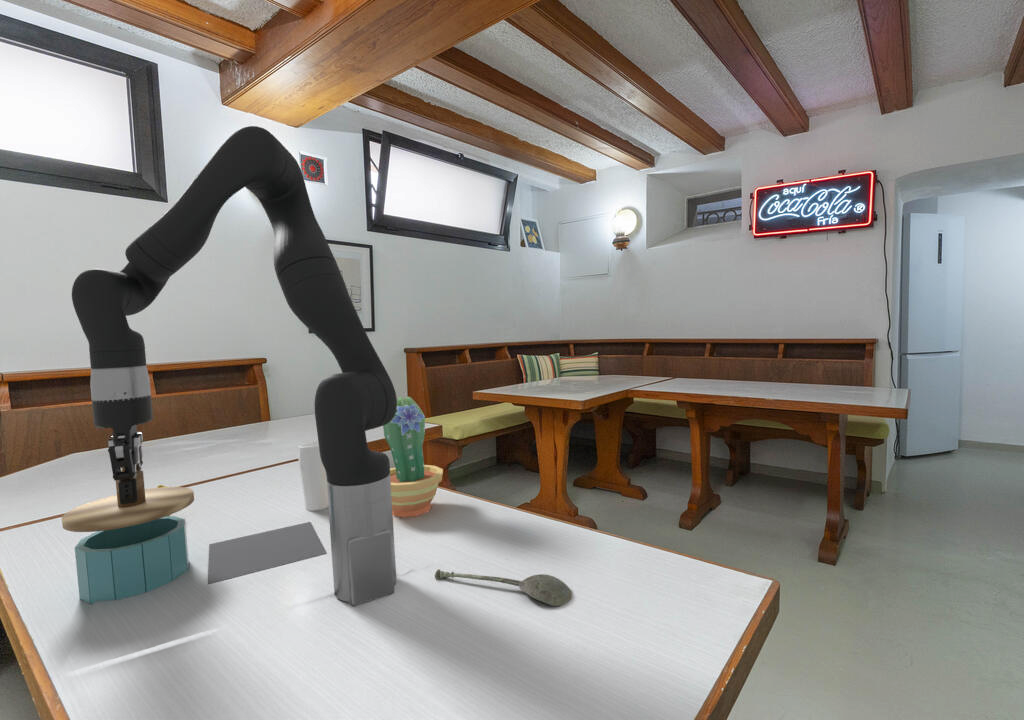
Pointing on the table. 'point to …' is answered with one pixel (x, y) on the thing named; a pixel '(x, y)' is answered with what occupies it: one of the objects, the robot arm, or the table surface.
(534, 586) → the soupspoon
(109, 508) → the lid
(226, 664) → the table surface
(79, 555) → the bowl
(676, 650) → the table surface
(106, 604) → the table surface
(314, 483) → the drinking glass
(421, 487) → the potted cactus
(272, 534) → the mat
